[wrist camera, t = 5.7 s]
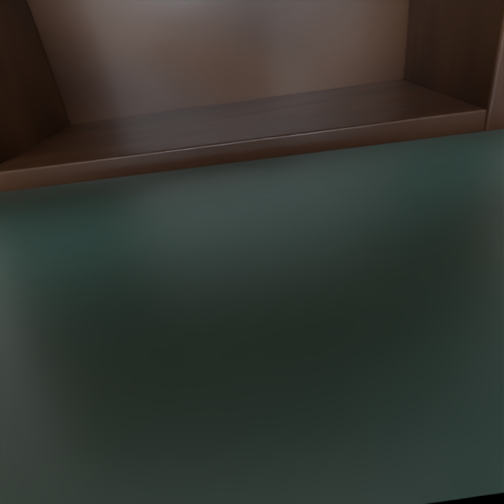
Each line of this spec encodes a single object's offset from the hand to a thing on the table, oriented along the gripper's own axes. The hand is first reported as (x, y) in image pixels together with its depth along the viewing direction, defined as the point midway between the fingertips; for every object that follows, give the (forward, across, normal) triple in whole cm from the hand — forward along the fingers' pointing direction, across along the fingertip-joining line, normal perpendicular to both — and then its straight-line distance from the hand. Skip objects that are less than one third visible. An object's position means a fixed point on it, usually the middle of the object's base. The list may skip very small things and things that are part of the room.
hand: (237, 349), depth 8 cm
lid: (-3, 0, -3) cm, 4 cm away
